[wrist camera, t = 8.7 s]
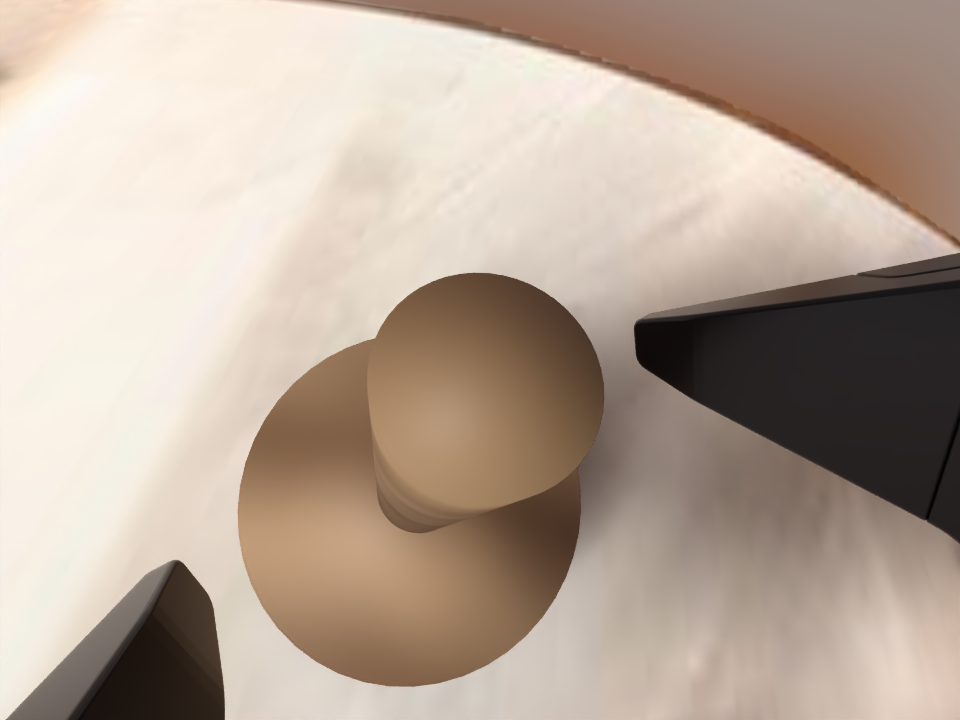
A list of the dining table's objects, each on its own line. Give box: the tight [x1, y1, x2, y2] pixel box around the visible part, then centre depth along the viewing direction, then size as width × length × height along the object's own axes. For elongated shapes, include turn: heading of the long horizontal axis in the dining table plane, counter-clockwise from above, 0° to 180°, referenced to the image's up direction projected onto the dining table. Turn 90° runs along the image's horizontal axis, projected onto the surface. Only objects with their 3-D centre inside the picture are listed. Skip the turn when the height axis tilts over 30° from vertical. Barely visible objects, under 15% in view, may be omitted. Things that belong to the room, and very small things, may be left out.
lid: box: [238, 273, 604, 687], centre depth 11 cm, size 11×11×12 cm
